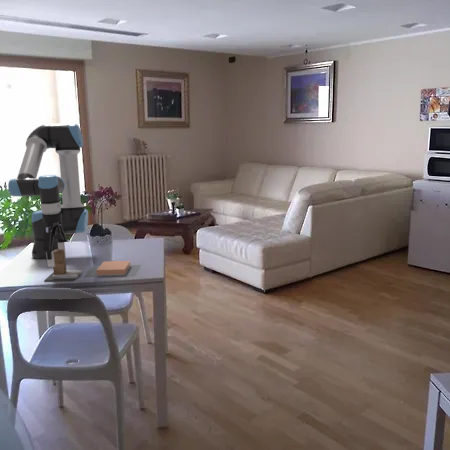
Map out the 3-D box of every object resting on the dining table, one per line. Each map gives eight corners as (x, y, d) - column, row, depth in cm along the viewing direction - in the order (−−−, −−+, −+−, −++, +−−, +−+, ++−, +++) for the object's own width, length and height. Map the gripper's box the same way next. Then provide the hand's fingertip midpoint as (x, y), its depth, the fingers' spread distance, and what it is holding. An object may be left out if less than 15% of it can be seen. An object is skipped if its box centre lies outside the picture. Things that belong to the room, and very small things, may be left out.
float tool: (59, 272, 204) (56, 248, 202) (82, 271, 204) (79, 247, 202) (52, 278, 196) (49, 253, 194) (76, 278, 196) (73, 252, 194)
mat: (93, 267, 214) (93, 266, 214) (141, 265, 213) (141, 264, 213) (83, 278, 199) (83, 277, 199) (135, 276, 199) (134, 275, 199)
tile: (103, 261, 211) (130, 260, 211) (104, 266, 212) (130, 266, 212) (96, 270, 200) (124, 269, 200) (97, 275, 200) (124, 274, 200)
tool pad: (54, 273, 206) (54, 271, 206) (81, 272, 206) (81, 270, 206) (44, 282, 195) (44, 280, 195) (73, 282, 195) (72, 279, 194)
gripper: (49, 218, 182) (55, 270, 187) (70, 206, 206) (75, 253, 211) (30, 219, 182) (36, 271, 187) (53, 207, 206) (58, 253, 211)
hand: (57, 261), depth 199 cm, fingers open, 13 cm apart
